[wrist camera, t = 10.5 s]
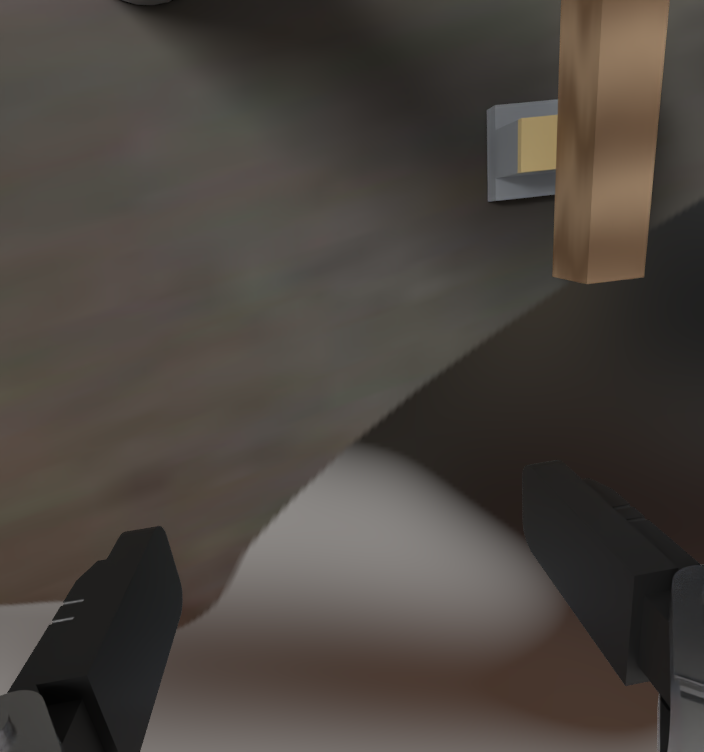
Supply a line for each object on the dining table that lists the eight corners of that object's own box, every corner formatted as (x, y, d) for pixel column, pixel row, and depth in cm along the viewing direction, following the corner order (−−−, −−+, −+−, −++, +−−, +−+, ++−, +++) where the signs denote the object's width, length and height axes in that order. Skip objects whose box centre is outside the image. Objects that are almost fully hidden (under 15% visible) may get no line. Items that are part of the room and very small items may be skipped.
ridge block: (486, 110, 33) (521, 89, 28) (596, 99, 34) (651, 77, 28) (487, 201, 35) (520, 198, 30) (591, 190, 36) (642, 185, 30)
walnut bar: (561, -15, 26) (605, -54, 23) (621, -20, 27) (675, -59, 23) (552, 276, 32) (586, 284, 28) (602, 270, 32) (644, 277, 28)
